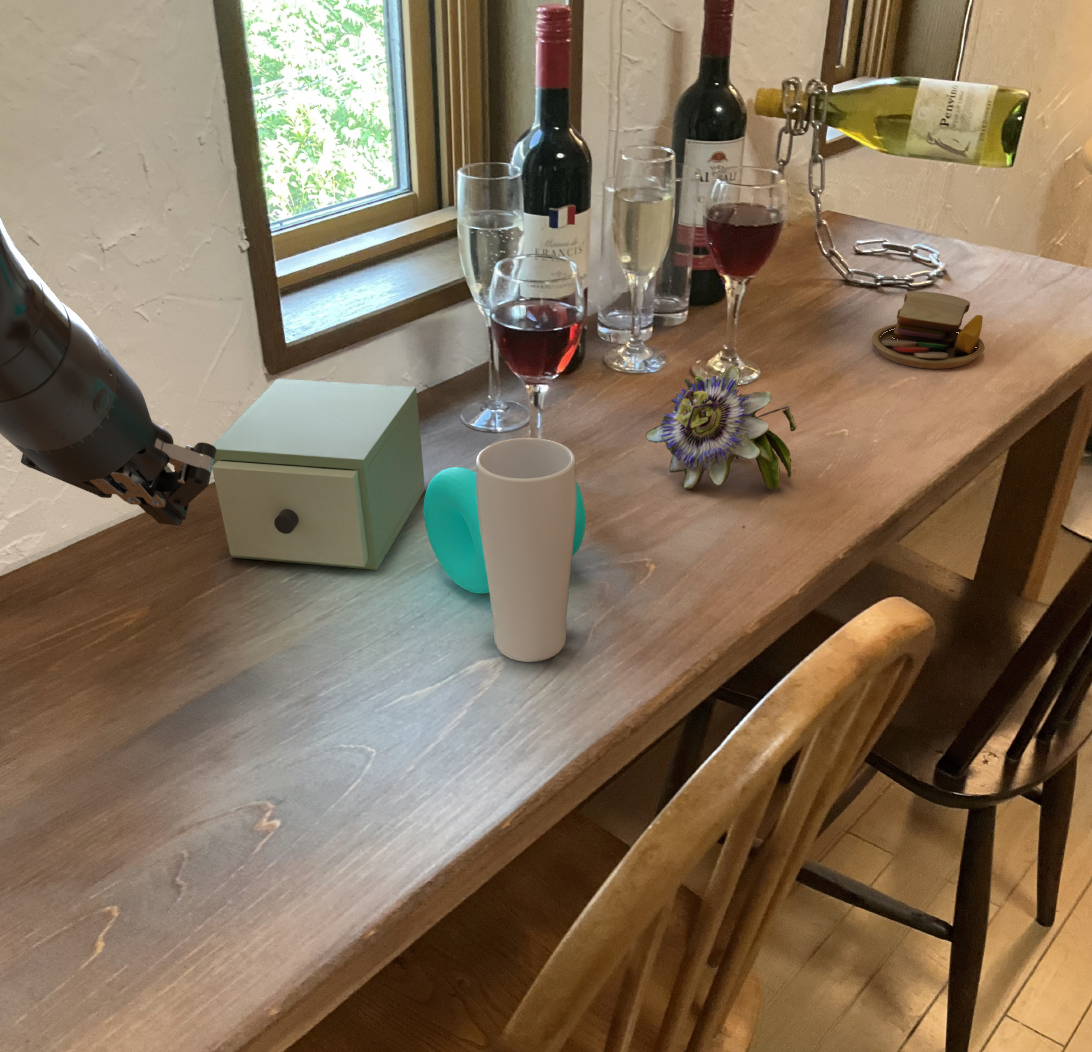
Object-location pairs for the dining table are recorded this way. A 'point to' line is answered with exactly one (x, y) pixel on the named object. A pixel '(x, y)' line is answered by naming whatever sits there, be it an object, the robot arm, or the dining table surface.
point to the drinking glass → (527, 542)
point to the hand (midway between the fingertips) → (173, 511)
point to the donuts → (467, 527)
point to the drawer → (292, 512)
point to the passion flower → (721, 431)
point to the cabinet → (340, 446)
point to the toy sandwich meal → (931, 333)
